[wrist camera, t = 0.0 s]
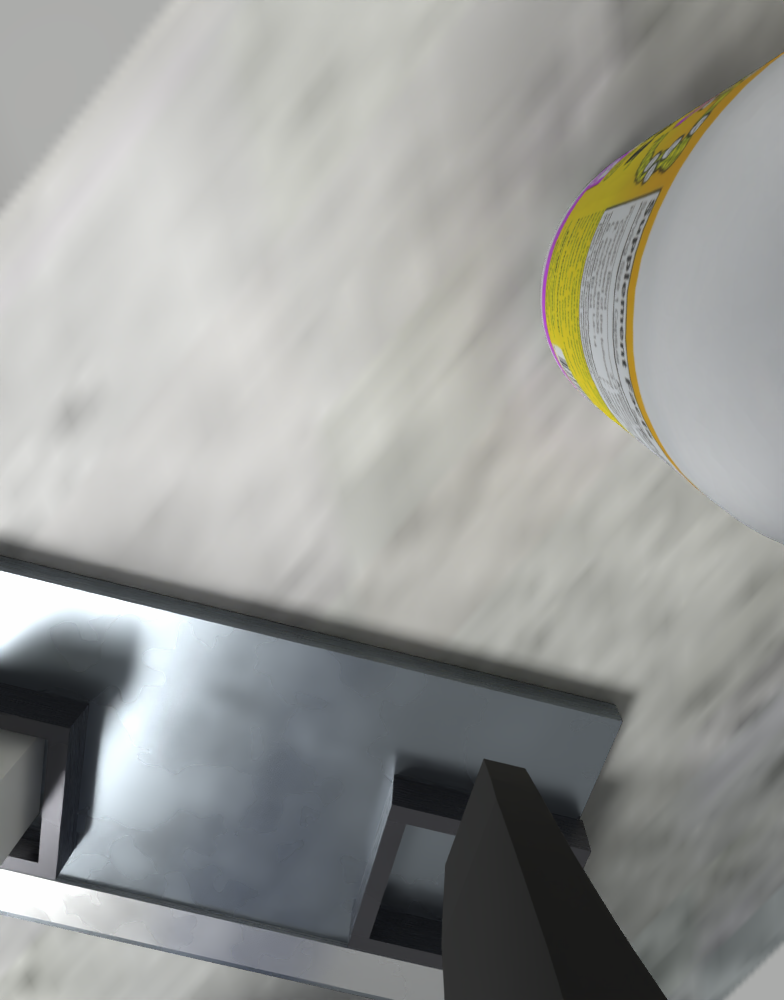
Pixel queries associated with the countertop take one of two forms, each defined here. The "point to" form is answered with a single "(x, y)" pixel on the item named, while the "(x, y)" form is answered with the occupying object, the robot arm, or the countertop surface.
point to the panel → (259, 781)
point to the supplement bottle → (686, 296)
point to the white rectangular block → (18, 786)
